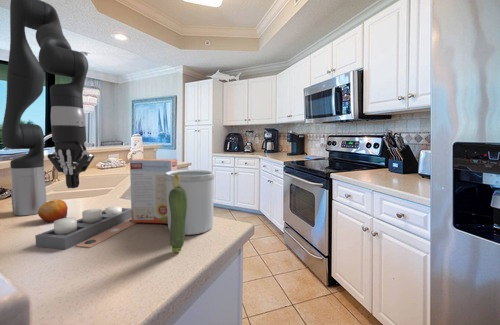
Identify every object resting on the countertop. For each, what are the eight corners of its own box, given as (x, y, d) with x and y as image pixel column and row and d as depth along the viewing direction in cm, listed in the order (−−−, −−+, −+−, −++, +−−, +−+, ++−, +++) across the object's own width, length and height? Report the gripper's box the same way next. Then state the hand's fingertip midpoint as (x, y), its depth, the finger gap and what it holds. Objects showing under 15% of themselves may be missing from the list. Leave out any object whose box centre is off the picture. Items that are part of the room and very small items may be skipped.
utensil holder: (154, 231, 74) (154, 173, 72) (184, 217, 87) (184, 168, 86) (197, 239, 68) (198, 177, 67) (221, 223, 82) (223, 171, 81)
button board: (36, 246, 64) (35, 235, 64) (111, 215, 90) (111, 207, 90) (65, 249, 62) (64, 238, 62) (134, 216, 89) (133, 208, 88)
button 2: (102, 218, 83) (101, 209, 83) (112, 214, 88) (112, 206, 88) (115, 219, 82) (114, 210, 82) (125, 215, 87) (124, 206, 87)
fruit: (79, 212, 89) (66, 196, 84) (60, 230, 83) (44, 213, 78) (63, 210, 91) (49, 194, 87) (43, 227, 85) (28, 211, 81)
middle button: (78, 222, 74) (78, 212, 74) (92, 217, 79) (91, 208, 79) (93, 224, 73) (92, 213, 73) (105, 218, 78) (105, 209, 78)
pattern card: (75, 246, 64) (75, 245, 64) (132, 218, 87) (132, 217, 87) (90, 247, 63) (90, 246, 63) (143, 219, 86) (143, 218, 86)
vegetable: (172, 247, 64) (170, 170, 62) (189, 247, 64) (188, 170, 62) (168, 255, 59) (165, 173, 57) (186, 255, 60) (184, 172, 58)
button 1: (49, 234, 65) (48, 222, 65) (66, 227, 70) (65, 217, 70) (65, 235, 64) (64, 224, 64) (81, 228, 69) (81, 218, 69)
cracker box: (179, 219, 86) (178, 158, 84) (171, 224, 80) (170, 160, 78) (140, 217, 87) (139, 158, 85) (130, 222, 81) (129, 159, 79)
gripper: (34, 124, 64) (39, 189, 66) (78, 123, 62) (82, 191, 64) (60, 125, 72) (64, 184, 73) (100, 125, 70) (104, 185, 71)
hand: (73, 187), depth 68 cm, fingers closed
